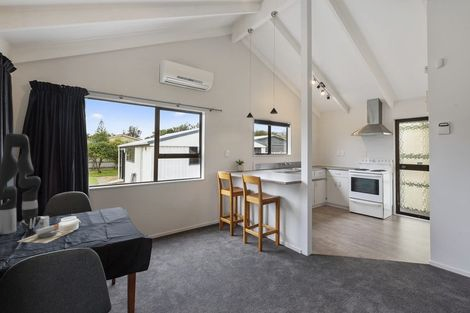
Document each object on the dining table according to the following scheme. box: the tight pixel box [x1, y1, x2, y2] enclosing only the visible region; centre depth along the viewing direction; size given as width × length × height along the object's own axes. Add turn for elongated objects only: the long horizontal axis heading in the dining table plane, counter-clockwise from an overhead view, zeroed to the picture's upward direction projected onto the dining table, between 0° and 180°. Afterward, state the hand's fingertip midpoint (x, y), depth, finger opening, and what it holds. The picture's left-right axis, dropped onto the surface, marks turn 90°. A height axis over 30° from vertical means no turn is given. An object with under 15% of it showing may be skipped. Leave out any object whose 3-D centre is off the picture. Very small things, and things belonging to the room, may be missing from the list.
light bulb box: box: [33, 215, 50, 233], centre depth 162 cm, size 11×7×11 cm, turn 105°
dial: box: [35, 224, 59, 238], centre depth 152 cm, size 12×10×6 cm
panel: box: [16, 229, 73, 244], centre depth 152 cm, size 20×22×2 cm
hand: (30, 234), depth 144 cm, fingers closed
